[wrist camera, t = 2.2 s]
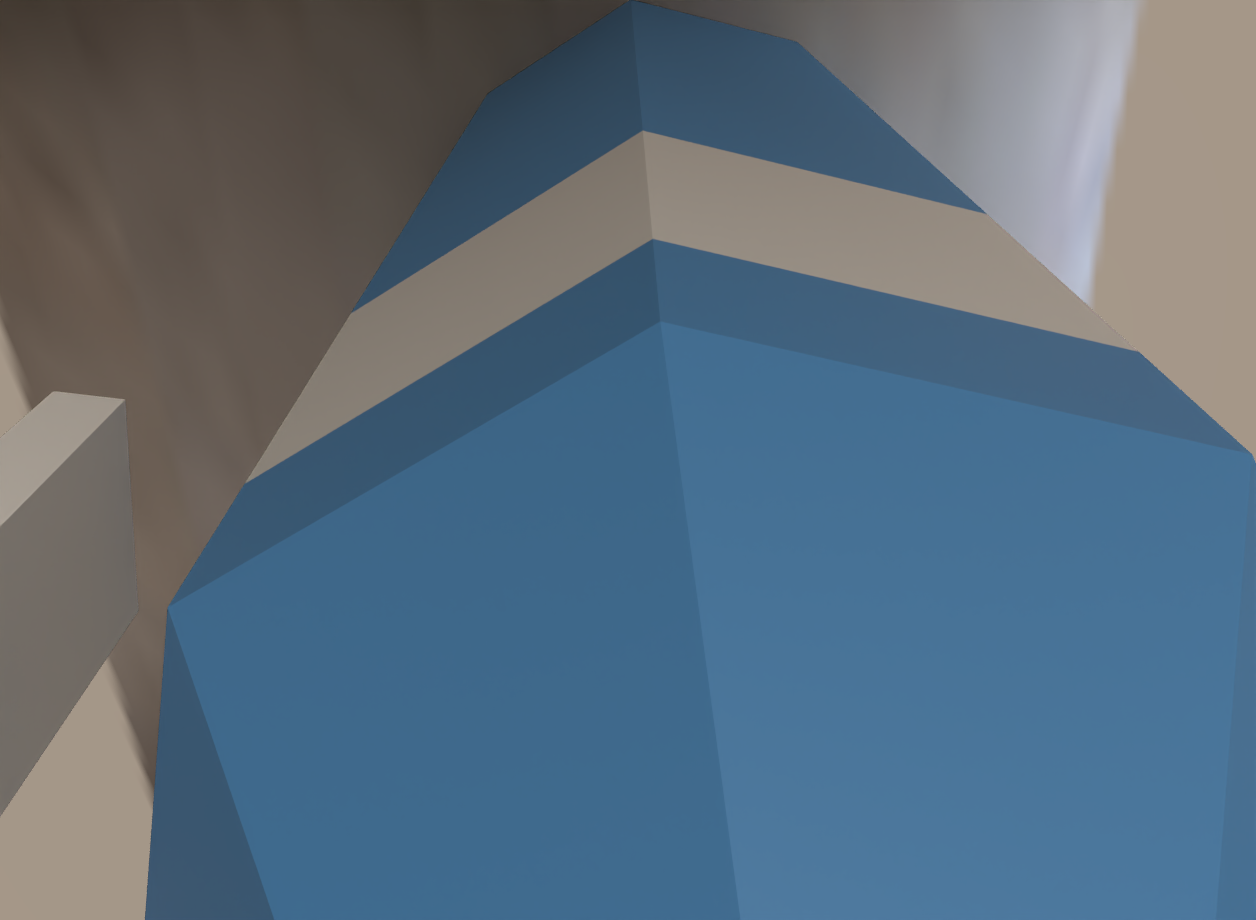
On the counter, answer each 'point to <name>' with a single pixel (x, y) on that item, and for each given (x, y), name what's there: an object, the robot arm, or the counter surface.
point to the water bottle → (715, 550)
